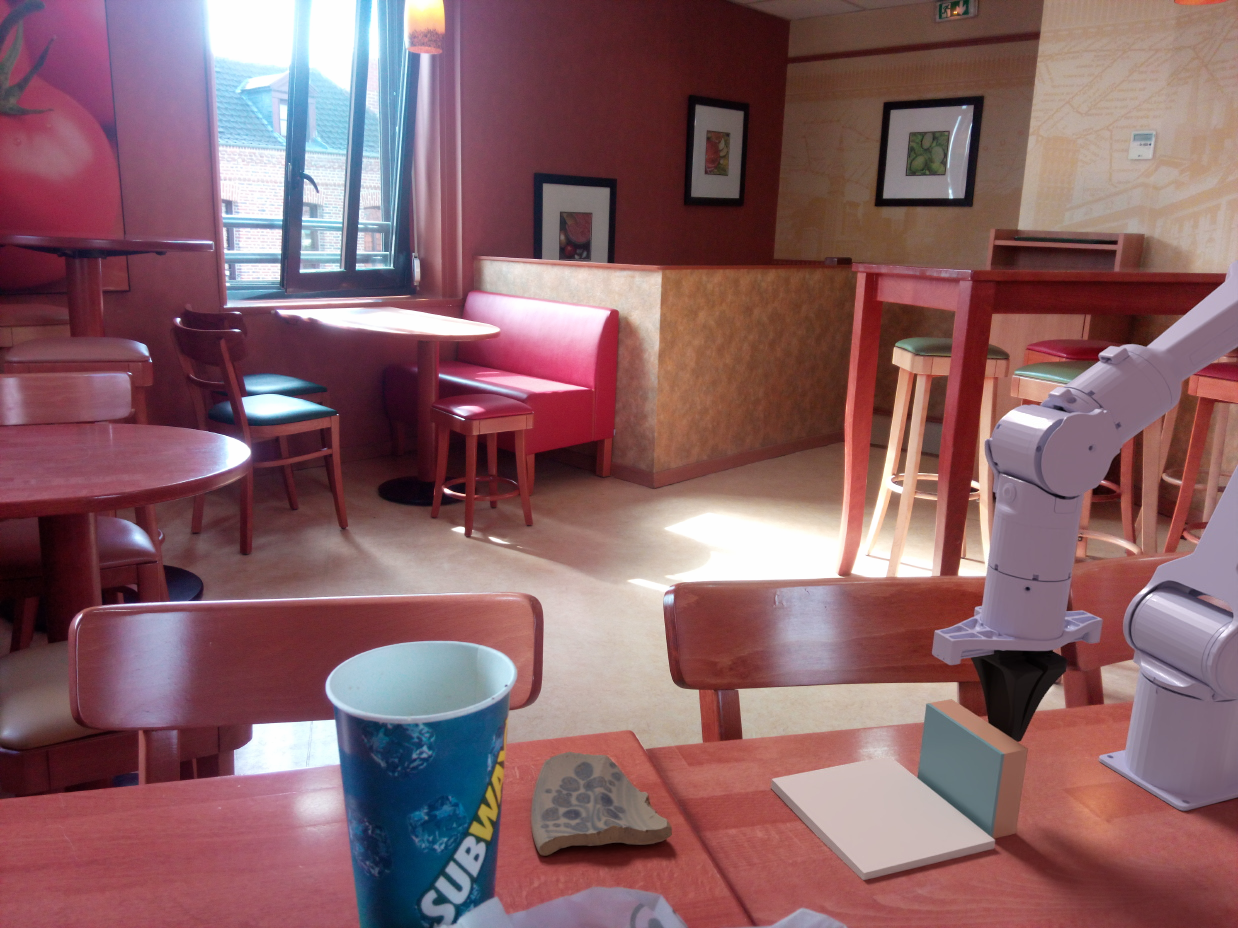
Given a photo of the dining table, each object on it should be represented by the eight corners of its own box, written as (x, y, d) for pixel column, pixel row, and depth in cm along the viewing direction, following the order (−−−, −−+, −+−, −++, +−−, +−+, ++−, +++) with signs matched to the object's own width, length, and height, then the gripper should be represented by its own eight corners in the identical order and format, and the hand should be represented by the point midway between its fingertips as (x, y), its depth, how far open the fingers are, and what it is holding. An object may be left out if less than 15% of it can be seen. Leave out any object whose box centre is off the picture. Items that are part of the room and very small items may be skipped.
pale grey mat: (888, 764, 77) (889, 755, 77) (993, 849, 66) (995, 839, 66) (770, 787, 73) (771, 778, 73) (862, 883, 62) (863, 872, 62)
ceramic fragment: (675, 842, 63) (531, 820, 62) (667, 880, 64) (524, 859, 63) (666, 753, 73) (542, 734, 73) (659, 787, 74) (536, 769, 74)
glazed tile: (941, 777, 75) (951, 698, 74) (1015, 834, 68) (1028, 748, 67) (916, 782, 74) (926, 703, 73) (988, 841, 67) (1001, 754, 66)
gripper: (1060, 545, 75) (1036, 699, 77) (913, 560, 69) (894, 725, 72) (1136, 573, 68) (1107, 740, 71) (981, 592, 63) (957, 772, 66)
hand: (1005, 736), depth 71 cm, fingers closed
